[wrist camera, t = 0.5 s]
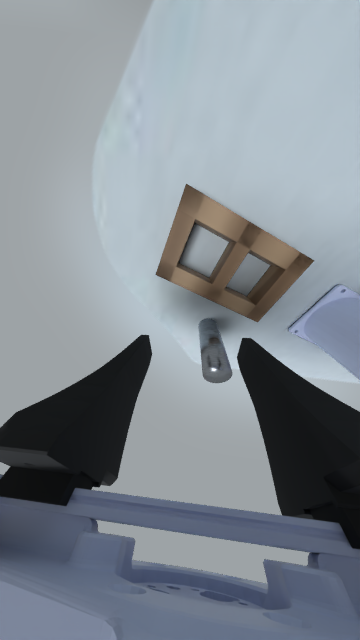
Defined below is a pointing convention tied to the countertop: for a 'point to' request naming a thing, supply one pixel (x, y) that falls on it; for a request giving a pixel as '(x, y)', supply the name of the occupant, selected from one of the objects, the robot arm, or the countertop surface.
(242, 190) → the countertop surface
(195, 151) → the countertop surface
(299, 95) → the countertop surface
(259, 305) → the hole block
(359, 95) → the countertop surface
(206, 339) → the peg
